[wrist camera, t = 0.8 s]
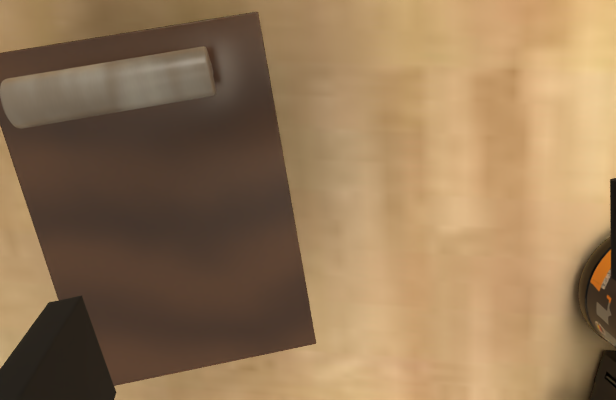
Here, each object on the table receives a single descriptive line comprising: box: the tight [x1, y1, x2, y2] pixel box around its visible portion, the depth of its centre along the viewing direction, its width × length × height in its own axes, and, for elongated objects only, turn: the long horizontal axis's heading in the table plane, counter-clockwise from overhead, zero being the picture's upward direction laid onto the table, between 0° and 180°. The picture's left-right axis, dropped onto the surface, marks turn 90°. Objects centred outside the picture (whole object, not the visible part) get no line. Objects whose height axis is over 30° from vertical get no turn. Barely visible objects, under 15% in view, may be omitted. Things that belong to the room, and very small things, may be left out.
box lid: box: [0, 12, 316, 386], centre depth 25 cm, size 18×13×6 cm
